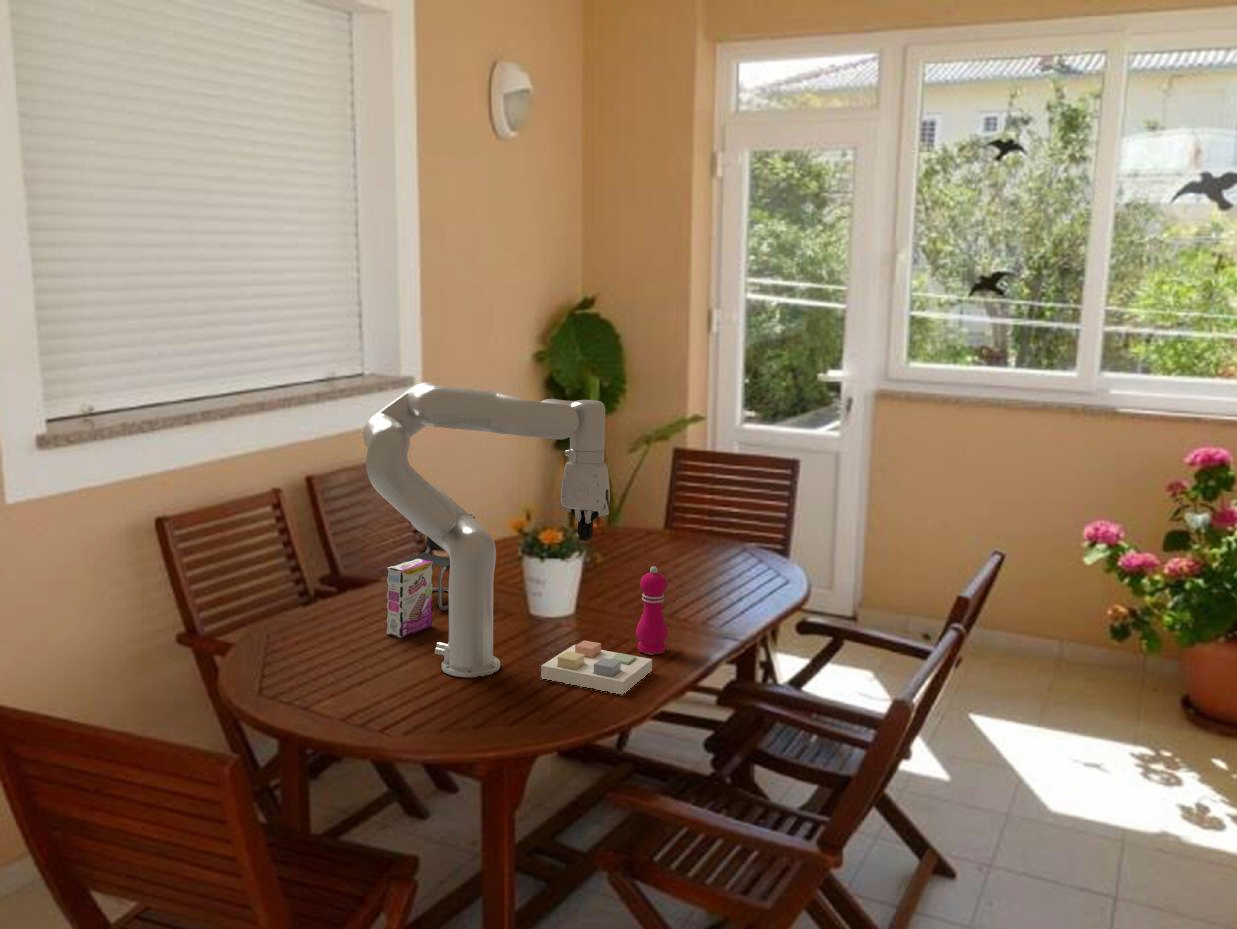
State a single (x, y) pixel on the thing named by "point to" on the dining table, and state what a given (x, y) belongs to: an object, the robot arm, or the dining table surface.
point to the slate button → (607, 667)
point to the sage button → (624, 658)
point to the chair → (437, 562)
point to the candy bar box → (409, 597)
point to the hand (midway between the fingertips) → (585, 539)
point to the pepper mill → (652, 613)
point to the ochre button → (571, 660)
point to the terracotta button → (588, 649)
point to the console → (591, 680)
